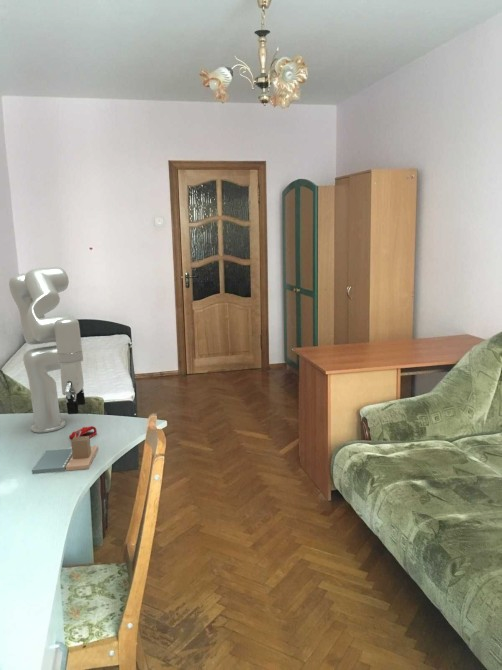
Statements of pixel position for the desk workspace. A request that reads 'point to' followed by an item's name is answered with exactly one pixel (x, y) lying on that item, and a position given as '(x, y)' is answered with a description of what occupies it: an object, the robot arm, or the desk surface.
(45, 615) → the desk surface
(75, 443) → the stub
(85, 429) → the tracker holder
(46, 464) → the board
